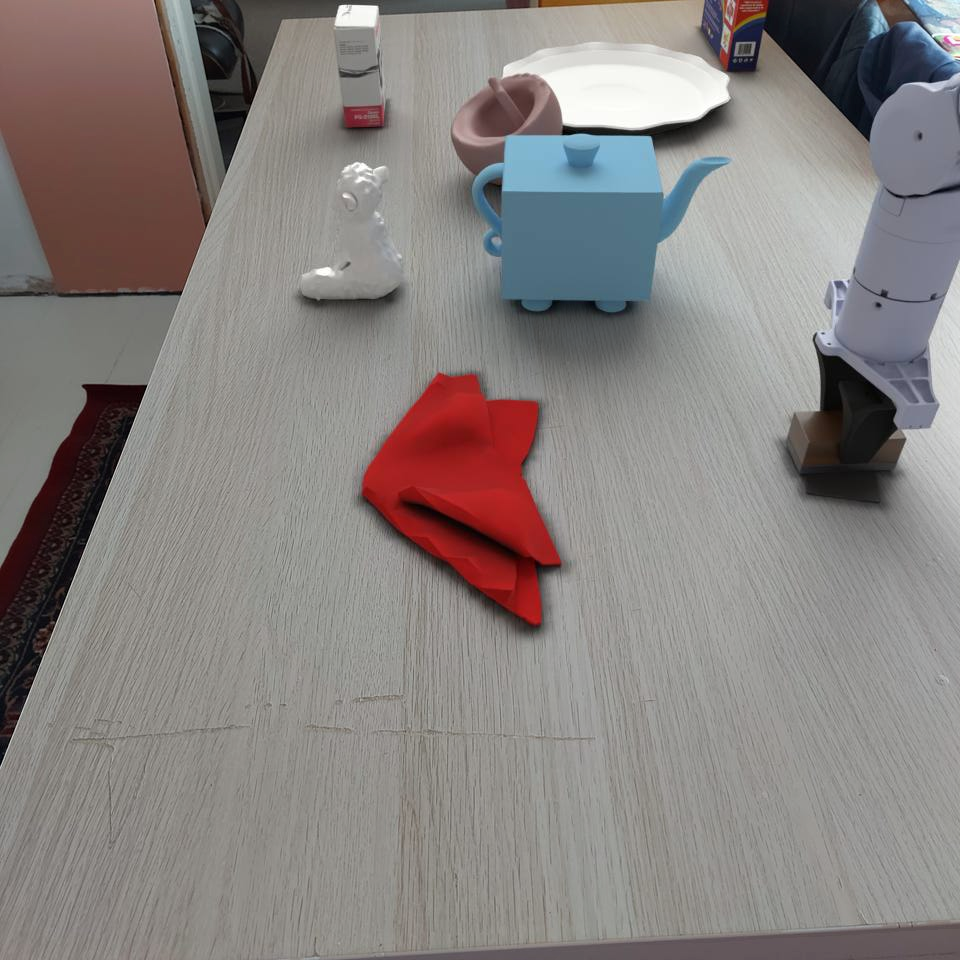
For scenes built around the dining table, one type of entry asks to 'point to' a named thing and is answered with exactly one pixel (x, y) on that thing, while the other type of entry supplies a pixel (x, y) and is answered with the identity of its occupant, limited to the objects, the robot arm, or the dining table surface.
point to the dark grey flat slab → (844, 485)
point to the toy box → (735, 31)
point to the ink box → (360, 65)
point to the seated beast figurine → (358, 242)
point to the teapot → (582, 217)
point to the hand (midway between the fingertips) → (844, 441)
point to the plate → (626, 87)
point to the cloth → (467, 489)
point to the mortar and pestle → (503, 119)
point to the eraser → (833, 445)
